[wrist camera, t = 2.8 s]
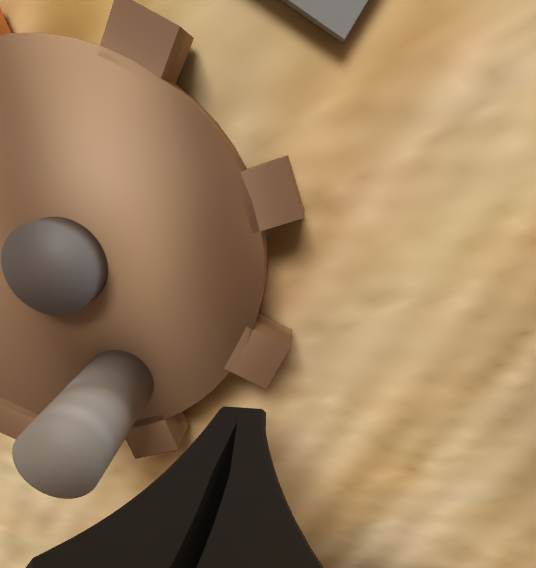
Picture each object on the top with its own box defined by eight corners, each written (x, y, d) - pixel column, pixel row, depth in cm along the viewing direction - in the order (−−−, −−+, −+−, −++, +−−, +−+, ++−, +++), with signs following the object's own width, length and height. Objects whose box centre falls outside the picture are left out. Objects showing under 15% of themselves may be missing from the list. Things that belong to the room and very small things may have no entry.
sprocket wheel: (210, -104, 11) (127, -305, 6) (357, 387, 16) (380, 508, 11) (-219, 100, 14) (-517, 81, 9) (9, 465, 19) (-104, 588, 13)
